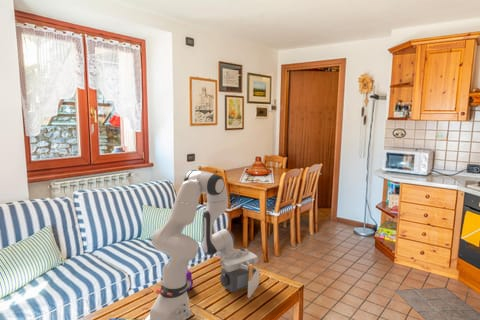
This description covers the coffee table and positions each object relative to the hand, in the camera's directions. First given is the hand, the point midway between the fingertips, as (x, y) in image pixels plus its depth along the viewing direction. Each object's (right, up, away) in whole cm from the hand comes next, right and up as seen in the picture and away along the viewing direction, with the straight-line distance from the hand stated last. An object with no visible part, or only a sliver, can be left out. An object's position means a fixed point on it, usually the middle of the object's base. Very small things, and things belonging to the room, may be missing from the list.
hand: (249, 268), depth 168 cm
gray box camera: (-6, -13, +14) cm, 20 cm away
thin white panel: (+2, -14, +7) cm, 16 cm away
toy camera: (-36, -14, +8) cm, 39 cm away
